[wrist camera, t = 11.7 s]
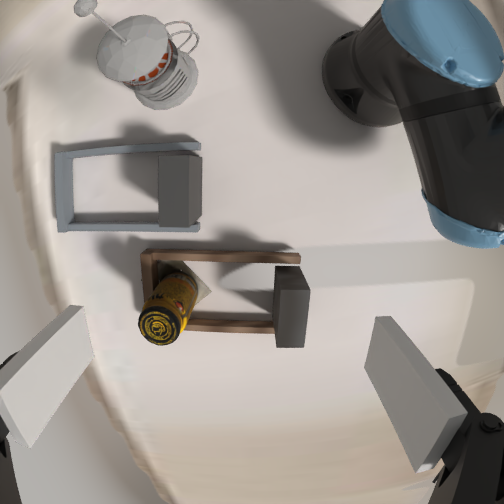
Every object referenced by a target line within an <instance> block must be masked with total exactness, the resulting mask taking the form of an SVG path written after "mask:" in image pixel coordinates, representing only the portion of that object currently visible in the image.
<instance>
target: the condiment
mask: <svg viewBox="0 0 504 504" xmlns="http://www.w3.org/2000/svg"><path fill="white" fill-rule="evenodd" d="M157 267H158V281H159V280H160V283H159V284H158V286H157V287H156V288H155V290H154V291H153V293H152V294H151V295H150V296H149V298H148V299H147V301H146V302H145V304H144V306H143V310H142V313H141V314H140V316H139V321H138V326H139V329H140V331H141V334H142V335H143V336H144V337H145V338H146V339H147V340H148V341H149V342H151V343H154V344H156V345H168V344H170V343H173V342H174V341H175V340H176V339H177V338H178V336H179V334H180V333H181V332H182V331H183V330H184V329H185V327H186V325H187V323H188V320H189V318H190V315H191V313H192V310H193V308H194V305H196V304H197V303H198V302H199V301H201V300H202V299H203V298H204V297H206V296H207V295H208V294H209V293H210V292H212V291H211V290H210V289H209V288H208V287H207V286H206V285H205V284H204V283H203V282H202V281H201V280H200V279H199V278H198V276H196V274H195V273H194V272H193V271H192V270H191V269H190V268H189V267H188V266H187V265H186V264H185V263H184V262H183V261H180V260H161V261H160V262H159V263H158V264H157ZM181 270H182V271H181ZM141 281H142V279H141Z"/></svg>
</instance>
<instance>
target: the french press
mask: <svg viewBox="0 0 504 504" xmlns="http://www.w3.org/2000/svg"><path fill="white" fill-rule="evenodd" d="M97 4H98V3H97V0H78V1H77V2H76V4H75V5H74V13H76V14H77V15H78V16H79V17H85V16H87V15H89V14H91V13H92V14H93V15H94V16H96V17H97V18H98V19H99V20H100V21H101V22H103V23H104V24H105V25H106V26H107V27H108V28H109V29H110V30H109V31H108V32H107V33H106V34H105V36H104V38H103V39H102V41H101V43H100V44H99V48H98V53H97V61H98V65H99V69H100V70H101V71H102V73H103V74H104V75H105V76H106V77H107V78H110V79H112V80H115V81H118V82H119V81H122V82H123V83H124V84H125V85H126V86H128V87H129V88H131V89H132V90H134V91H135V95H136V97H137V99H138V100H139V101H140V102H141V103H142V104H143V105H144V106H147V107H149V108H152V109H154V110H165V109H170V108H172V107H175V106H177V105H180V104H181V103H182V102H183V101H185V100H186V99H187V98H188V97H189V96H190V95H191V94H192V92H193V90H194V88H195V86H196V84H197V78H198V70H197V67H196V64H195V61H194V60H193V59H192V58H191V57H190V56H189V55H188V54H190V53H191V52H192V51H193V50H194V49H195V48H196V47H197V45H198V43H199V36H198V34H197V33H196V32H194V31H193V28H192V25H191V24H190V23H188V22H185V21H174V22H171V23H167V24H165V25H164V24H162V23H161V22H160V21H159V20H158V19H157V18H155V17H151V16H147V15H138V16H131V17H129V18H126V19H124V20H122V21H120V22H118V23H117V24H116V25H114V26H113V27H111V26H110V25H109V24H107V23H106V22H105V21H104V20H103V19H102V18H101V17H100V16H98V15H97V14H96V13H95V12H94V10H95V8H96V7H97ZM174 23H185V24H188V25H189V26H190V28H191V31H179V32H176V33H173V34H172V35H170V34H169V33H168V31H167V30H166V28H165V27H166V26H168V25H171V24H174ZM188 32H189V33H190V36H189V38H188V39H187V40H186V41H185V42H184V43H183V44H182V45H180V46H179V47H178V49H177V48H176V46H175V45H174V43H173V42H172V41H171V40H172V36H173V35H176V34H179V33H188ZM192 33H193V34H195V35H196V38H197V42H196V45H195V46H194V47H193V48H192V49H191V50H190V51H189V52H188V53H185V52H182V51H180V50H179V49H180V48H181V47H182V46H183V45H184V44H185V43H186V42H187V41H188V40H189V39H190V38H191V36H192ZM168 37H169V38H168Z"/></svg>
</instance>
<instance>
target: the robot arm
mask: <svg viewBox="0 0 504 504" xmlns="http://www.w3.org/2000/svg"><path fill="white" fill-rule="evenodd" d="M502 60H504V53H503V49H502V46H501V43H500V40H499V38H498V36H497V34H496V32H495V30H494V29H493V27H492V25H491V24H490V22H489V21H488V20H487V18H486V17H485V16H484V15H483V14H482V13H481V11H480V10H479V9H478V8H477V7H476V6H475V5H473V4H472V3H471V2H470V1H469V0H384V1H383V4H382V6H381V7H380V8H379V9H378V10H377V12H376V13H375V14H374V15H373V16H372V17H371V19H370V20H369V21H368V22H367V23H366V24H365V26H364V27H363V28H362V29H360V30H356V31H352V32H349V33H346V34H344V35H342V36H341V37H339V38H338V39H337V40H336V41H335V42H334V43H333V44H332V45H331V47H330V48H329V50H328V51H327V53H326V55H325V57H324V61H323V66H322V76H323V81H324V85H325V88H326V90H327V93H328V94H329V96H330V98H331V100H332V101H333V102H334V104H335V105H336V106H337V107H338V108H339V109H340V110H341V111H342V112H343V113H344V114H345V115H347V116H348V117H349V118H351V119H352V120H354V121H356V122H358V123H361V124H363V125H367V126H371V127H387V126H391V125H395V124H398V123H401V122H403V125H404V128H405V130H406V134H407V137H408V140H409V143H410V146H411V149H412V153H413V156H414V159H415V163H416V166H417V170H418V174H419V177H420V181H421V185H422V190H421V191H422V196H423V198H424V200H425V201H426V203H427V207H428V211H429V215H430V219H431V222H432V224H433V226H434V227H435V228H436V229H437V230H438V232H439V233H440V234H441V235H442V236H443V237H445V238H447V239H448V240H450V241H452V242H455V243H457V244H461V245H464V246H469V247H474V248H498V247H499V246H500V244H502V245H504V106H503V105H502V103H501V100H500V97H499V94H498V91H497V88H496V85H495V82H497V80H498V79H499V78H500V76H501V75H502V72H503V69H504V64H503V63H502ZM93 358H94V352H93V348H92V344H91V339H90V335H89V330H88V326H87V321H86V316H85V311H84V306H76V305H70V306H69V307H68V308H66V309H65V310H64V311H63V312H62V313H61V314H60V315H58V316H57V317H56V318H55V319H54V320H53V321H52V322H51V323H49V324H48V325H47V326H46V327H45V328H44V329H43V330H42V331H41V332H40V333H38V334H37V335H36V336H35V337H34V338H33V339H32V340H31V341H30V342H29V343H28V344H27V345H26V346H24V347H23V348H22V349H21V350H20V351H18V352H16V353H14V354H13V355H11V356H9V357H8V358H7V359H6V360H5V361H4V362H3V364H1V365H0V504H22V502H21V499H20V495H19V491H18V487H17V483H16V478H15V474H14V469H13V464H12V459H11V452H10V446H9V442H8V440H7V438H6V436H7V434H8V433H9V432H10V433H11V435H12V437H13V438H14V440H15V442H16V443H18V444H20V445H23V446H25V447H27V448H29V449H31V447H32V446H33V444H34V443H35V441H36V439H37V438H38V437H39V435H40V434H41V432H42V430H43V429H44V427H45V426H46V424H47V423H48V421H49V420H50V418H51V417H52V415H53V414H54V413H55V411H56V410H57V408H58V407H59V405H60V404H61V402H62V401H63V399H64V398H65V396H66V395H67V394H68V392H69V391H70V389H71V388H72V386H73V385H74V384H75V382H76V381H77V380H78V378H79V377H80V375H81V374H82V373H83V371H84V370H85V369H86V367H87V366H88V364H89V363H90V362H91V360H92V359H93ZM364 368H365V370H366V372H367V374H368V376H369V378H370V380H371V382H372V384H373V386H374V388H375V390H376V392H377V394H378V396H379V398H380V400H381V402H382V404H383V406H384V408H385V410H386V412H387V414H388V416H389V418H390V420H391V422H392V424H393V426H394V428H395V430H396V432H397V434H398V437H399V439H400V441H401V443H402V445H403V447H404V449H405V451H406V454H407V456H408V458H409V460H410V462H411V464H412V467H413V469H414V471H415V473H419V472H423V471H426V470H429V469H433V468H434V467H435V466H436V464H437V463H438V461H439V460H440V458H442V460H443V462H444V464H445V465H444V466H443V468H442V469H441V471H440V472H439V473H438V475H437V476H436V477H435V479H434V480H433V483H435V482H436V481H437V483H436V486H435V488H434V491H433V493H432V496H431V498H430V500H429V503H428V504H504V423H503V422H502V420H501V419H500V418H499V417H497V416H496V415H493V414H491V413H480V411H479V410H478V409H477V408H476V406H475V405H474V404H473V402H472V401H471V400H470V399H469V397H468V396H467V395H466V394H465V392H464V391H462V389H461V387H460V386H459V385H457V382H456V381H455V380H454V379H453V377H452V376H451V375H450V374H448V373H447V372H445V371H444V370H442V369H441V368H439V369H434V368H433V367H432V365H431V364H430V363H429V362H428V360H427V359H426V358H425V357H424V355H423V354H422V353H421V352H420V350H419V349H418V348H417V347H416V346H415V344H414V343H413V342H412V341H411V339H410V338H409V337H408V336H407V335H406V333H405V332H404V331H403V330H402V329H401V327H400V326H399V325H398V324H397V323H396V322H395V320H394V319H393V318H392V317H391V316H382V317H376V318H375V323H374V328H373V332H372V337H371V341H370V346H369V350H368V354H367V358H366V362H365V366H364ZM437 479H438V480H437Z"/></svg>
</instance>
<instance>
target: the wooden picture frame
mask: <svg viewBox="0 0 504 504" xmlns="http://www.w3.org/2000/svg"><path fill="white" fill-rule="evenodd" d="M140 258H141V271H142V282H143V293H144V302H146V301H147V299H148V298H149V296H150V295H151V294H152V293H153V291H154V290H155V288H156V287H157V286H158V284H159V281H158V267H157V260H180V261H212V262H247V263H286V264H287V263H288V264H300V261H301V256H300V255H299V253H285V252H248V251H211V250H174V249H146V250H145V251H144V252H142V253H141V254H140ZM309 300H310V288H309V286H308V284H307V282H306V279H305V277H304V275H303V273H302V271H301V269H300V267H299V266H275V280H274V298H273V314H272V317H273V322H268V321H229V320H206V319H189V320H188V323H187V325H186V327H185V329H184V330H187V331H205V332H227V333H263V334H275V339H276V346H277V348H304V343H305V335H306V327H307V318H308V309H309Z"/></svg>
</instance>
